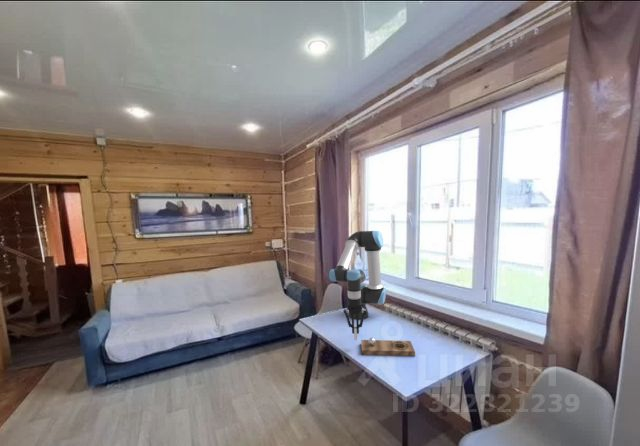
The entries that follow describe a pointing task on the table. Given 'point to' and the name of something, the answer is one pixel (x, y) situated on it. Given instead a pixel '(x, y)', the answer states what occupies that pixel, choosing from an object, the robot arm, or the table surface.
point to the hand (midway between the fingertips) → (355, 338)
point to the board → (388, 348)
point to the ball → (372, 341)
